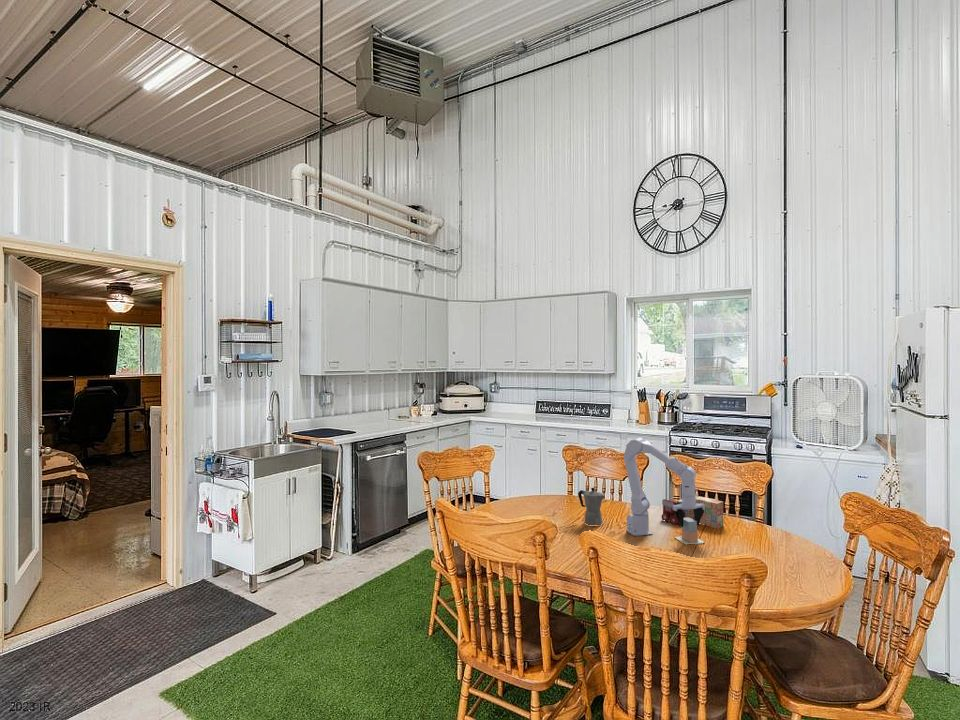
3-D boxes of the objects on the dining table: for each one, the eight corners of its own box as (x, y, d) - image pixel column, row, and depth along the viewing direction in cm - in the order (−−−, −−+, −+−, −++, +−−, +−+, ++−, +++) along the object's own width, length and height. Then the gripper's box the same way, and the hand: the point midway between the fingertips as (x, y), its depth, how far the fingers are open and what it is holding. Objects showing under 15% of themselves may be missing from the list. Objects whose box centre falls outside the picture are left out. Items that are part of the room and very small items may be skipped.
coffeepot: (610, 524, 249) (609, 488, 249) (599, 529, 242) (599, 491, 243) (584, 518, 260) (583, 483, 260) (573, 522, 254) (572, 486, 254)
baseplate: (686, 545, 219) (685, 543, 219) (674, 538, 228) (674, 537, 228) (704, 543, 221) (704, 542, 221) (692, 537, 230) (692, 535, 230)
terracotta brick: (689, 542, 221) (689, 532, 221) (681, 537, 227) (681, 528, 227) (697, 541, 221) (697, 531, 222) (689, 537, 227) (689, 527, 227)
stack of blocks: (676, 518, 258) (675, 494, 258) (682, 516, 262) (682, 492, 262) (717, 529, 241) (717, 503, 241) (724, 526, 245) (723, 500, 245)
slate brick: (688, 531, 221) (688, 521, 221) (680, 527, 227) (680, 517, 227) (696, 531, 222) (696, 521, 222) (689, 527, 228) (688, 517, 228)
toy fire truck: (680, 526, 245) (679, 504, 245) (658, 520, 256) (658, 499, 256) (688, 523, 249) (688, 502, 249) (667, 517, 259) (666, 497, 260)
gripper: (678, 498, 219) (679, 529, 219) (708, 496, 222) (709, 527, 222) (669, 494, 226) (670, 524, 226) (699, 492, 229) (699, 522, 229)
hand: (689, 525), depth 224 cm, fingers open, 7 cm apart
